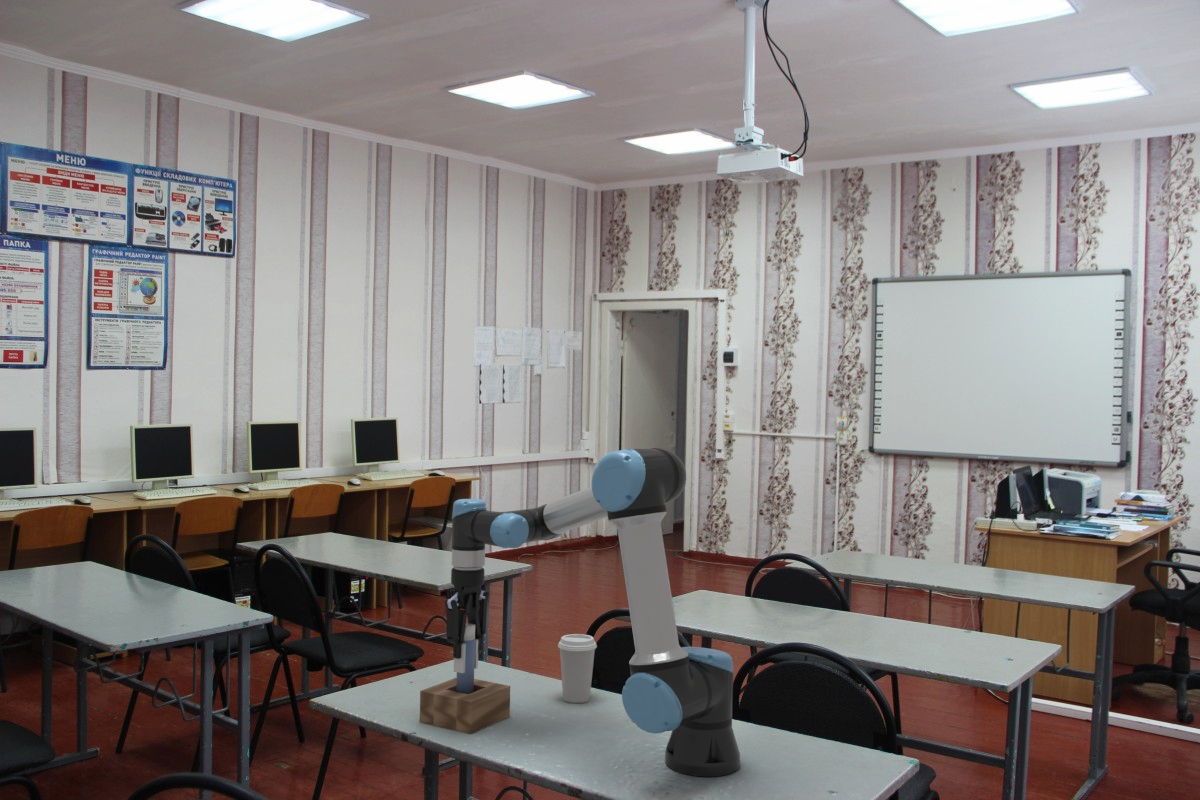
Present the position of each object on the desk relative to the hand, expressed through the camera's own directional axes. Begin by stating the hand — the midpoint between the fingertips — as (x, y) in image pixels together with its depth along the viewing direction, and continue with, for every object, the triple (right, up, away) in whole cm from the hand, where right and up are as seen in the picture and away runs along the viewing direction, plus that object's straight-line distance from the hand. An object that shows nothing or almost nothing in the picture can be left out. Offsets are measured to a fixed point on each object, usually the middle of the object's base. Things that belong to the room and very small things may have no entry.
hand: (465, 669), depth 228 cm
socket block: (0, -11, 0) cm, 11 cm away
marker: (0, -8, 0) cm, 8 cm away
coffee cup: (+25, -12, +17) cm, 32 cm away
